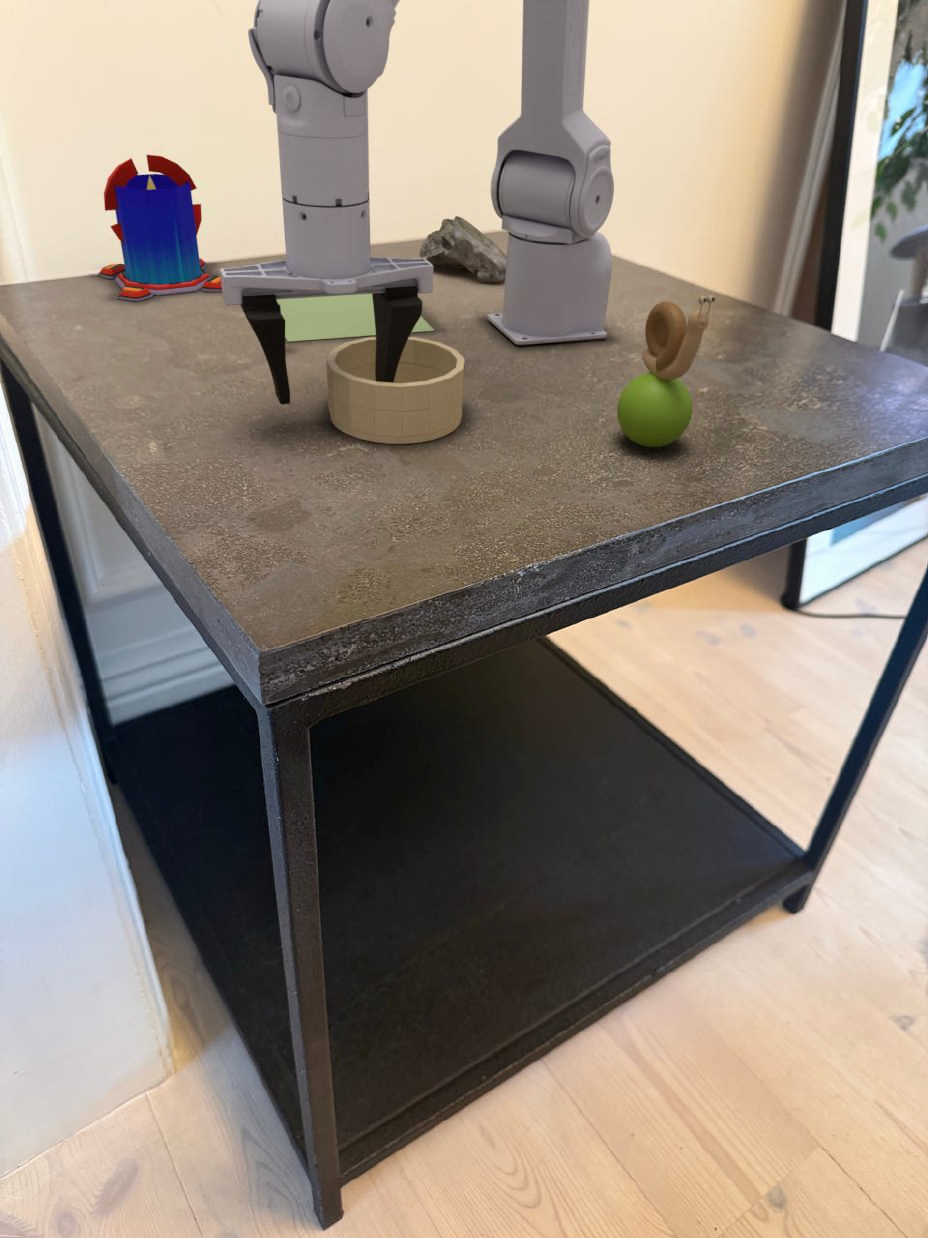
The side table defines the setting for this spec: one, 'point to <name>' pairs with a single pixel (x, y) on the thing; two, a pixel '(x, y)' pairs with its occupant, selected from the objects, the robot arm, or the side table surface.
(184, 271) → the fantasy tower
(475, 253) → the grey rock
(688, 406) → the snail figurine
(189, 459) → the side table surface
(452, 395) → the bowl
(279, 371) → the robot arm
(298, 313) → the mat
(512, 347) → the side table surface
